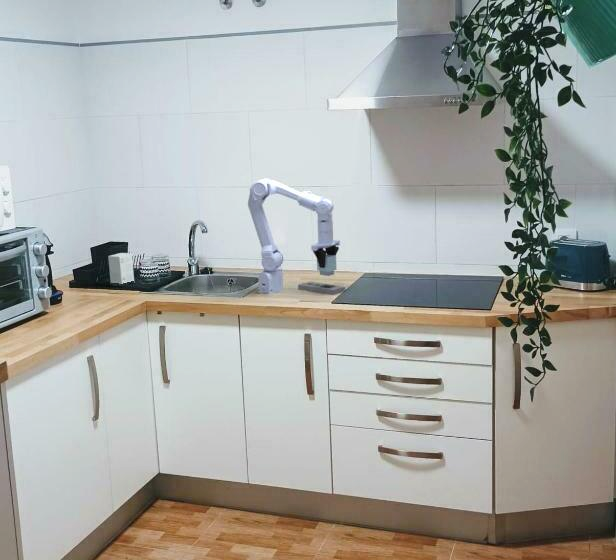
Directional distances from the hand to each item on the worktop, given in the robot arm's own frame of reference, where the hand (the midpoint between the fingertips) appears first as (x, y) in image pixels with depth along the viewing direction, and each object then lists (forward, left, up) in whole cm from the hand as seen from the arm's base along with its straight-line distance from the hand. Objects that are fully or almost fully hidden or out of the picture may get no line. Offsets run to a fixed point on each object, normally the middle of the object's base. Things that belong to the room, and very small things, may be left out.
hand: (326, 266), depth 309 cm
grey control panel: (0, +3, -10) cm, 11 cm away
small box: (-35, +84, -11) cm, 92 cm away
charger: (0, 0, -3) cm, 3 cm away
